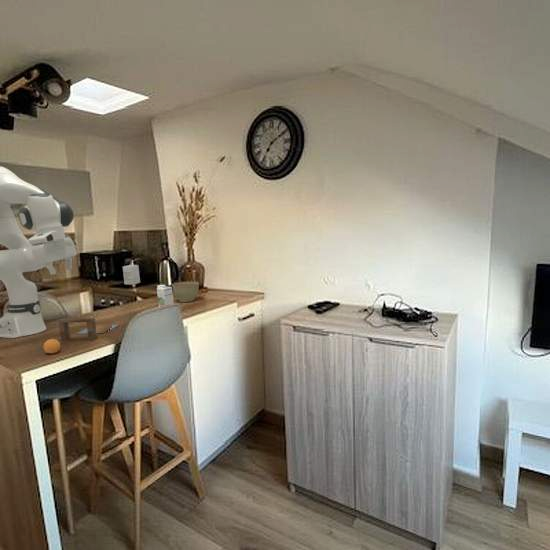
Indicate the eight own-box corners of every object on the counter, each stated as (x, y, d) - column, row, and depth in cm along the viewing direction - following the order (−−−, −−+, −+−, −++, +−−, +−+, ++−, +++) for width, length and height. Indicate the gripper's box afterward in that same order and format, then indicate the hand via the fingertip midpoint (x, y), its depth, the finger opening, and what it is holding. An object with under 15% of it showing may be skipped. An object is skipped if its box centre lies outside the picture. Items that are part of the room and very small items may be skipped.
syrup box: (174, 313, 194) (172, 286, 192) (165, 315, 189) (163, 288, 187) (167, 312, 197) (165, 285, 195) (158, 314, 192) (156, 287, 190)
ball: (41, 355, 137) (38, 341, 136) (51, 350, 143) (49, 337, 142) (54, 355, 137) (52, 341, 136) (64, 350, 142) (62, 337, 141)
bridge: (93, 340, 153) (90, 319, 152) (61, 340, 155) (58, 319, 153) (97, 338, 156) (94, 317, 155) (66, 338, 158) (63, 317, 156)
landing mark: (76, 333, 163) (76, 333, 163) (93, 325, 176) (93, 325, 176) (103, 333, 162) (103, 333, 162) (118, 325, 175) (118, 324, 175)
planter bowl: (197, 303, 216) (195, 285, 214) (170, 304, 216) (168, 286, 214) (202, 297, 232) (201, 280, 230) (177, 298, 232) (175, 281, 230)
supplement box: (131, 282, 304) (129, 264, 302) (140, 282, 301) (138, 264, 299) (124, 284, 296) (122, 266, 293) (133, 284, 293) (131, 266, 290)
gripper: (61, 234, 148) (70, 267, 150) (24, 240, 128) (36, 278, 130) (75, 232, 147) (84, 265, 150) (41, 238, 127) (52, 276, 130)
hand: (61, 271), depth 140 cm, fingers open, 8 cm apart
